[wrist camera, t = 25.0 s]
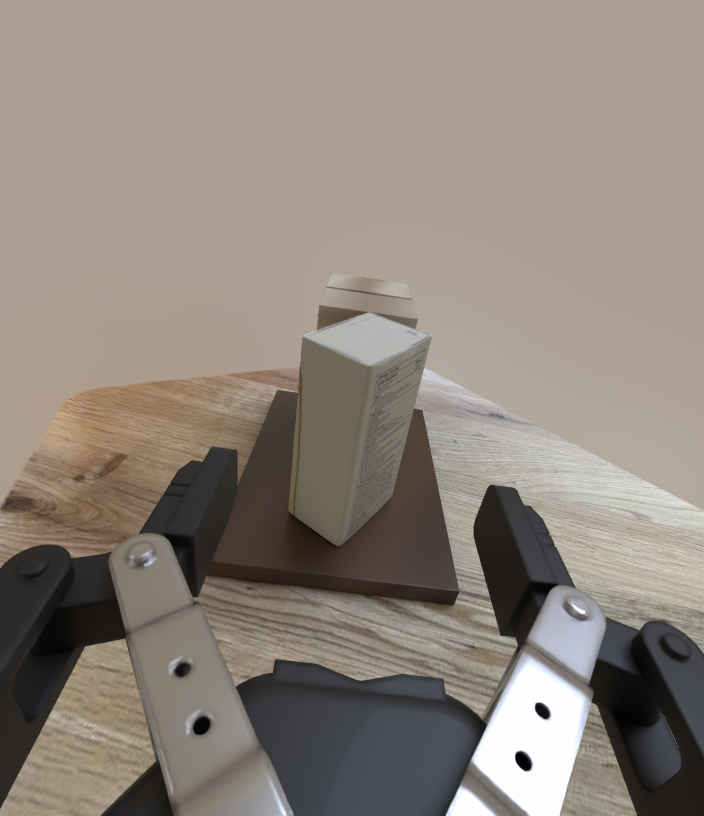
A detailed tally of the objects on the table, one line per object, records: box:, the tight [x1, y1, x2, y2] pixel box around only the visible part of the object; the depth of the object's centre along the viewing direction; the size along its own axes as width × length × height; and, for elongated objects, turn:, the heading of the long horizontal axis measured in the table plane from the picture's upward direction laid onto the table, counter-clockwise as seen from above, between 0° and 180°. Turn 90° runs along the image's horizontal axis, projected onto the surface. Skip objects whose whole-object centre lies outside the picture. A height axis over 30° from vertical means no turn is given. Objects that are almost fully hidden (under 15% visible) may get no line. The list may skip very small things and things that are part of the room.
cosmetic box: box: [288, 312, 432, 546], centre depth 25 cm, size 6×4×12 cm
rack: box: [208, 273, 459, 605], centre depth 29 cm, size 14×20×13 cm
